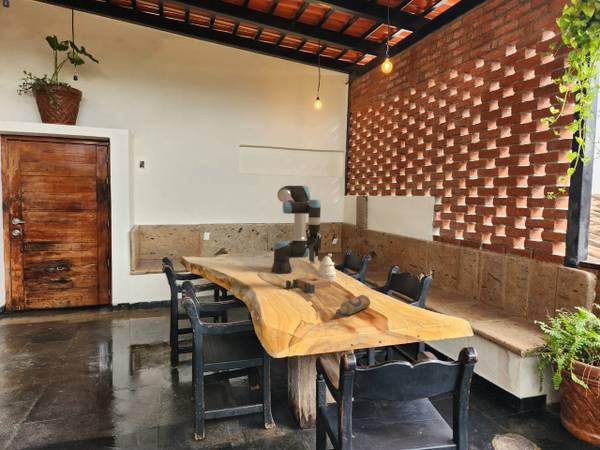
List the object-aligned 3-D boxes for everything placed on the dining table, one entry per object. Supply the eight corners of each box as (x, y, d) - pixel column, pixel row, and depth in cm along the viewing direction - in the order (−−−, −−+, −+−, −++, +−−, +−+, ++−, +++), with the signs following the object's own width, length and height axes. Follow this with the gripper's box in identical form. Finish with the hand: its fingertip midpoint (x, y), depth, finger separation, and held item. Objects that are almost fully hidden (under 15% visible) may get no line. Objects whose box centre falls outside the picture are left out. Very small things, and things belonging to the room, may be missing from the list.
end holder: (295, 284, 243) (295, 278, 243) (315, 281, 252) (315, 275, 252) (310, 290, 230) (310, 283, 229) (330, 286, 239) (330, 280, 238)
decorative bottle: (329, 317, 180) (329, 303, 180) (358, 305, 200) (358, 293, 199) (342, 320, 175) (343, 306, 175) (370, 308, 195) (371, 296, 194)
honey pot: (336, 278, 264) (336, 252, 263) (335, 282, 251) (336, 255, 250) (317, 277, 265) (318, 252, 264) (316, 281, 253) (317, 255, 251)
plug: (308, 263, 240) (309, 245, 239) (314, 263, 242) (314, 244, 241) (312, 264, 237) (313, 245, 236) (317, 264, 239) (318, 245, 238)
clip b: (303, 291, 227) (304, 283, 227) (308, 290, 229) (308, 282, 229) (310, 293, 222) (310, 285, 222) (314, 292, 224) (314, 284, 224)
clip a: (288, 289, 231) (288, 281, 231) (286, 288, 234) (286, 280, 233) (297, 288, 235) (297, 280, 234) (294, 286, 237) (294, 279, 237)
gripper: (301, 223, 242) (301, 259, 244) (317, 225, 228) (316, 263, 230) (311, 222, 246) (310, 258, 249) (327, 224, 232) (326, 262, 234)
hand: (313, 260), depth 239 cm, fingers closed on plug, 4 cm apart
